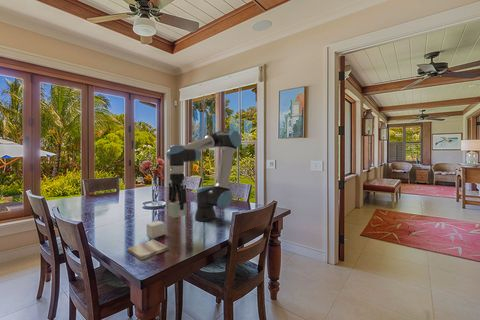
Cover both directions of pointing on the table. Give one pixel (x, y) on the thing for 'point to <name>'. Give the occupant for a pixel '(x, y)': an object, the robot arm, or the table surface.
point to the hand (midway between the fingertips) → (177, 214)
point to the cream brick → (155, 229)
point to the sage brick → (176, 209)
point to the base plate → (147, 249)
